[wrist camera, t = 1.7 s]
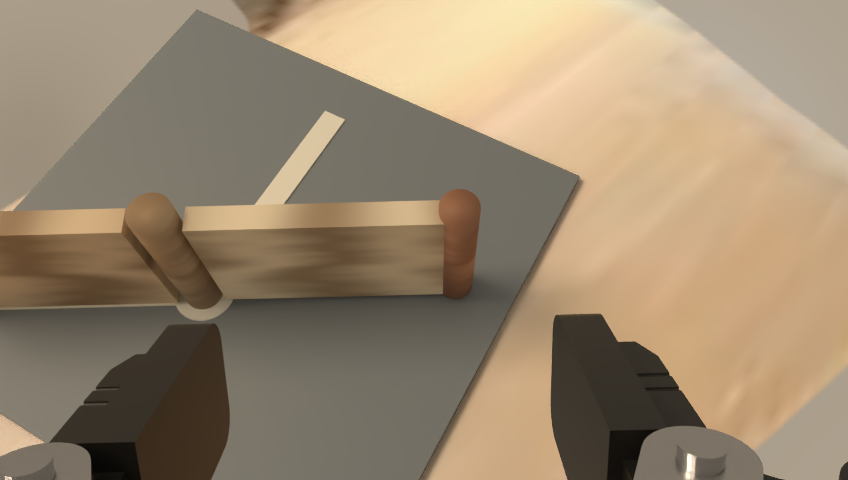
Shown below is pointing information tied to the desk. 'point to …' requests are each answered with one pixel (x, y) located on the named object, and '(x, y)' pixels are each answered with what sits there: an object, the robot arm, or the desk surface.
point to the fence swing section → (339, 247)
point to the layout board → (287, 317)
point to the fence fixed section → (101, 257)
